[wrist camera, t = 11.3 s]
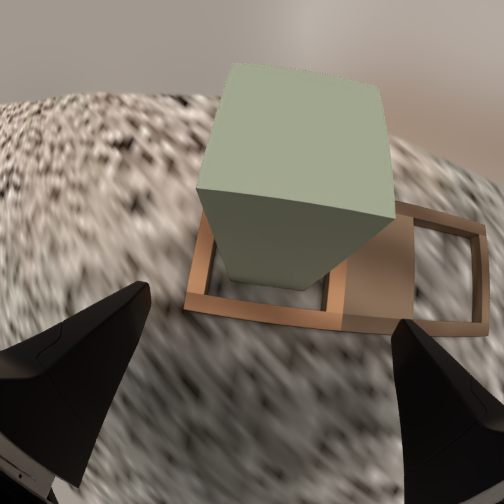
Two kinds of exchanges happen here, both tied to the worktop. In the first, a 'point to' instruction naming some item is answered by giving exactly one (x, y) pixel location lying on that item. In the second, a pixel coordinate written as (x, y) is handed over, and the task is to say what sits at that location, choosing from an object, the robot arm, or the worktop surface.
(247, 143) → the sage peg
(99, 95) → the worktop surface
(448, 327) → the copper brown frame
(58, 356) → the robot arm
